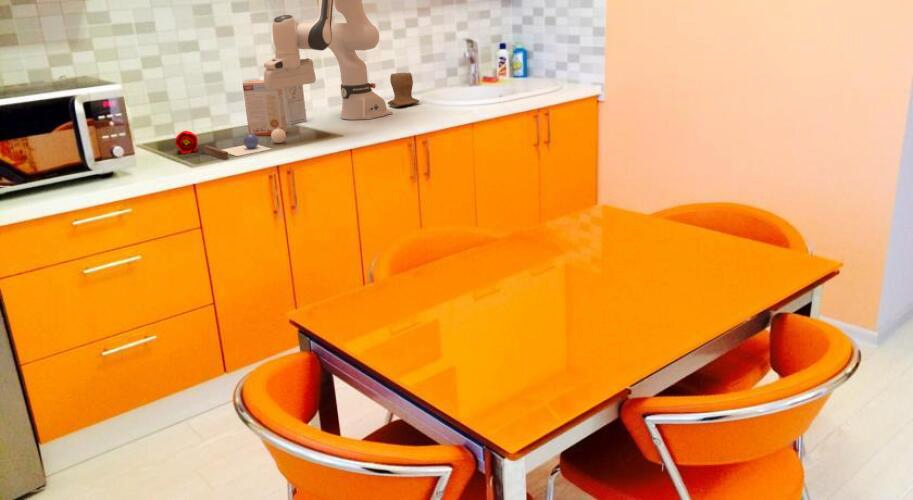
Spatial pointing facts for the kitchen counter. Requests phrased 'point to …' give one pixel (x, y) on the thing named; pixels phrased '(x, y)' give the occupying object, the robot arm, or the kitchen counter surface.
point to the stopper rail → (216, 152)
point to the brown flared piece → (402, 90)
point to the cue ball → (278, 135)
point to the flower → (186, 141)
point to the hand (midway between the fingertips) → (292, 98)
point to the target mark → (245, 150)
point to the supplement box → (294, 107)
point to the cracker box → (263, 108)
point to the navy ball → (250, 141)
